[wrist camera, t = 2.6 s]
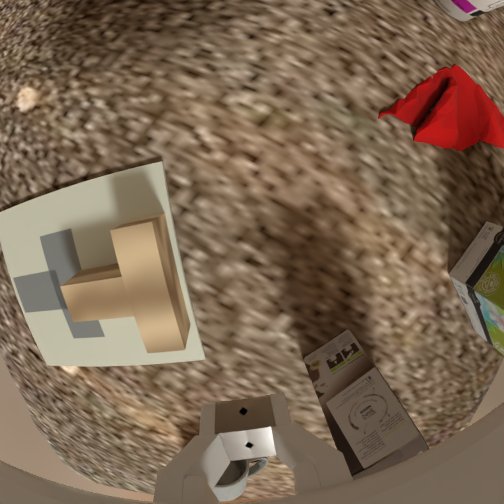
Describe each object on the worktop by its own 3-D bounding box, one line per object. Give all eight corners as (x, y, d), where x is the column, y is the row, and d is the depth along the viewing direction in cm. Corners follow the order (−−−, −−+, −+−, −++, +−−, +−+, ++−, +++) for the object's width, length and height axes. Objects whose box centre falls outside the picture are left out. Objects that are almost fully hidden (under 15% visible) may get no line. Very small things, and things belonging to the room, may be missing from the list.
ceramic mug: (199, 468, 35) (198, 506, 28) (192, 442, 33) (190, 485, 26) (265, 466, 36) (271, 503, 29) (267, 440, 34) (275, 482, 27)
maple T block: (72, 233, 24) (47, 244, 19) (165, 212, 24) (152, 221, 20) (103, 332, 27) (88, 356, 22) (190, 324, 27) (185, 349, 23)
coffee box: (300, 358, 30) (345, 479, 14) (348, 326, 29) (423, 432, 14) (334, 398, 32) (378, 497, 17) (376, 370, 32) (436, 461, 16)
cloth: (508, 99, 24) (518, 98, 21) (509, 186, 27) (520, 187, 25) (369, 29, 21) (379, 22, 19) (372, 145, 25) (383, 143, 23)
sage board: (-3, 213, 22) (-6, 214, 22) (163, 161, 23) (161, 161, 23) (48, 363, 28) (47, 365, 28) (205, 356, 29) (205, 359, 28)
